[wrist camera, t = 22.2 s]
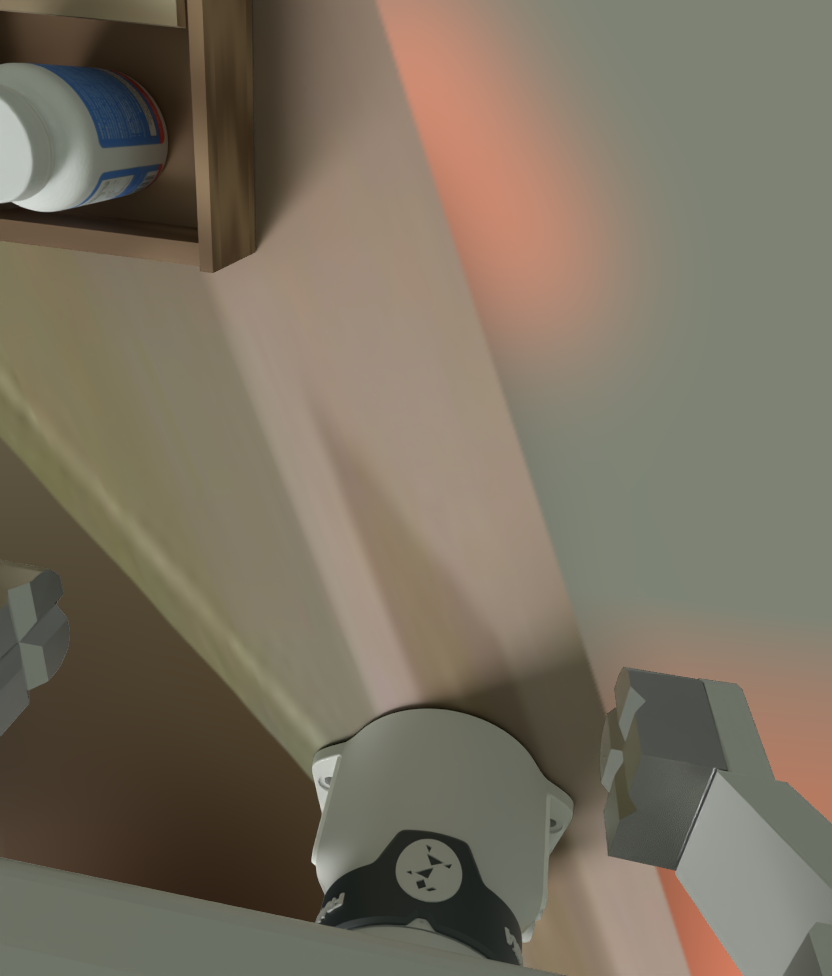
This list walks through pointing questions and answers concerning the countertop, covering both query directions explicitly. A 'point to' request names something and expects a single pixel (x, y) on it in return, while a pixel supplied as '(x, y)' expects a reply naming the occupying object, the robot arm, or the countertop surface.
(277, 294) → the countertop surface
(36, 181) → the pill bottle
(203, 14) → the lid box
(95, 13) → the lid
